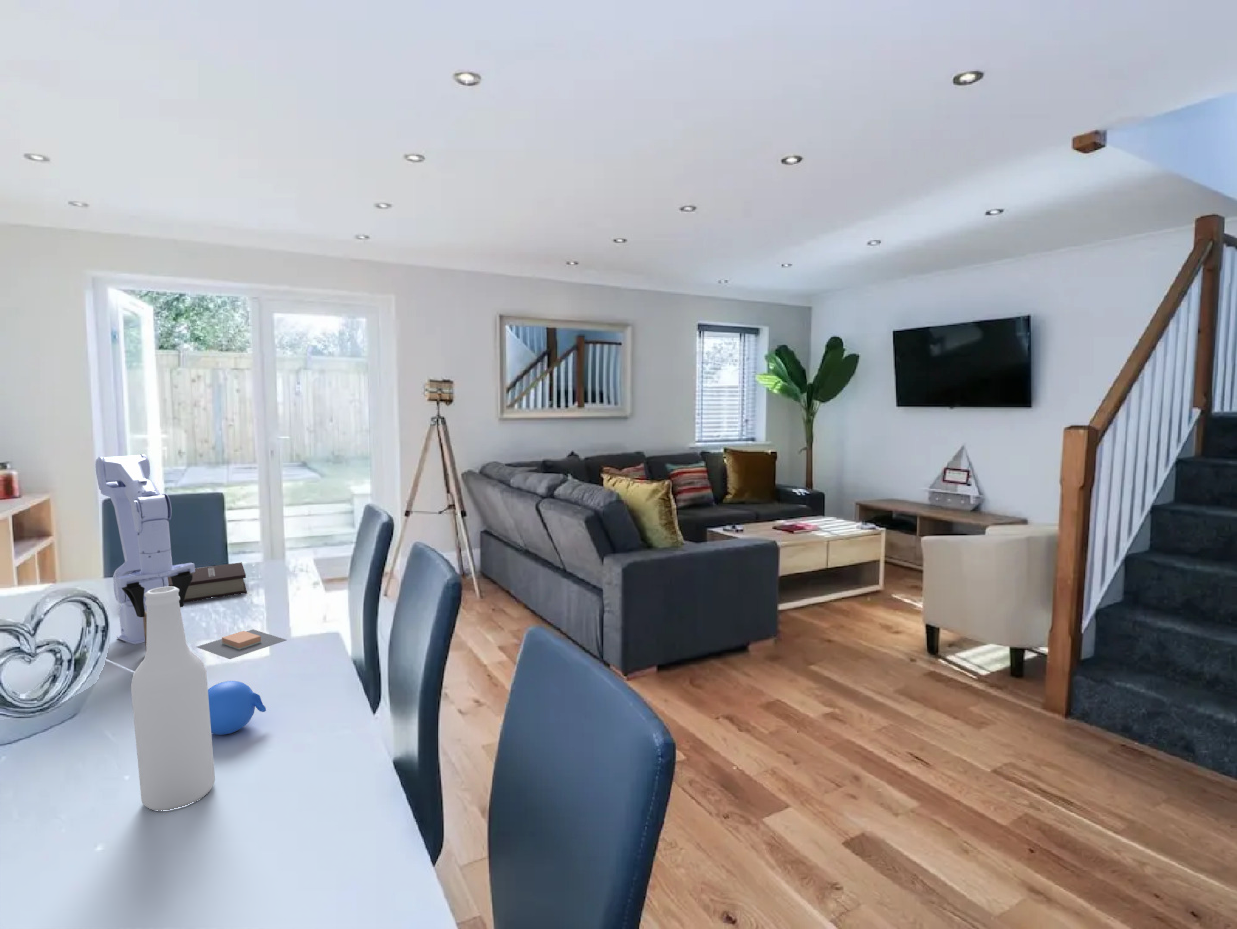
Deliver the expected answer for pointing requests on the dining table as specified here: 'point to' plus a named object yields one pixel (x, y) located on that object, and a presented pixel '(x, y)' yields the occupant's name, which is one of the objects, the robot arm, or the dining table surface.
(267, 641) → the mat
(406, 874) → the dining table surface
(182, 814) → the dining table surface
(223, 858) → the dining table surface
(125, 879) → the dining table surface
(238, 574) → the book
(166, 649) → the alcohol
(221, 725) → the blue rounded blob
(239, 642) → the tile
